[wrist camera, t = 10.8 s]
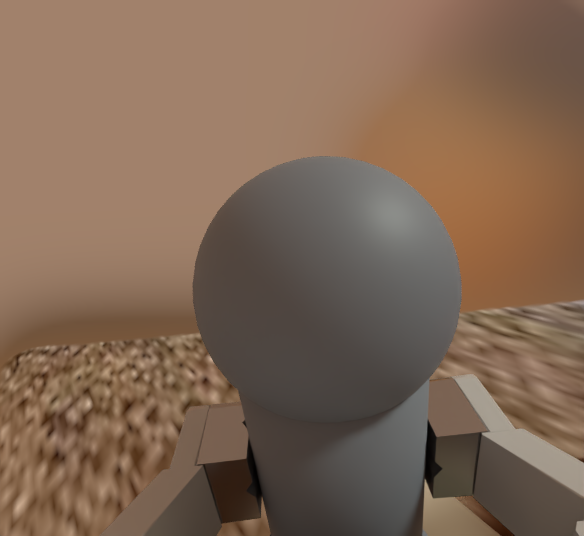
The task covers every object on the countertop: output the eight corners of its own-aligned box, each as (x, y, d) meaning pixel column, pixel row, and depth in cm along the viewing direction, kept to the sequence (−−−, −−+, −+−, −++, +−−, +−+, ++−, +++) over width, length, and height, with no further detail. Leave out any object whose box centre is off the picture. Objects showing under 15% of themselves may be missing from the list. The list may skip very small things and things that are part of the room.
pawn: (301, 491, 14) (246, 145, 9) (453, 541, 12) (495, 124, 7) (227, 677, 9) (34, 208, 4) (446, 806, 7) (550, 205, 2)
